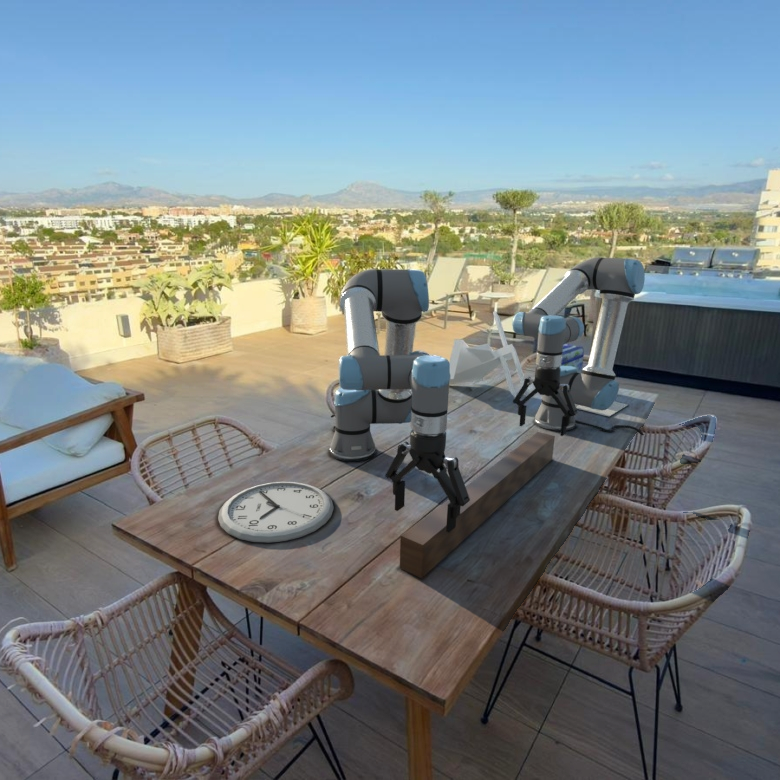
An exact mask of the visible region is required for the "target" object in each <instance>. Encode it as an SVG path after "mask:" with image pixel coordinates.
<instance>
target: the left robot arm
mask: <svg viewBox="0 0 780 780" xmlns="http://www.w3.org/2000/svg"><path fill="white" fill-rule="evenodd" d="M429 294H430V293H429V285H428V281H427V276H426V274H425V272H424V271H423V270H421V269H411V268H407V269H405V268H404V269H398V268H397V269H396V268H395V269H394V268H393V269H389V268H382V269H381V268H379V269H378V268H370V269H364V270H362V271H360V272H358V273H356V274H354V275H353V276H352V277H351V278H349V280H347V282H346V283H345V285H344V286H343V287H342V289H341V291H340V294H339V307H340V310H341V313H342V314H343V315H344V332H345V333H344V334H345V348H346V355H342V356H340V357H339V360H338V376H339V378H338V379H339V380H338V381H339V382H338V383H339V386H340V387H338V389H336V390H335V393H334V402H333V405H334V413H333V414H331V415H330V418H334V426H332V428H331V431H332V432H333V437H332V440H331V443H330V446H329V454H330V456H331V457H332V458H334V459H336V460H338V461H342V462H352V463H353V462H361V461H366V460H369V459H371V458H372V457H374V456H375V455H376V444H375V440H374V438H373V434H372V431H371V425H377V424H379V425H380V424H381V425H382V424H385V425H386V424H391V425H393V424H399V425H400V424H407V423H410V429H411V430H410V431H409V433H410V434H409V435H410V436H409V442H408V441H404V442H402V443H400V444H398V446H397V451H396V455H395V457H394V459H393V460H392V461H391V464H390V466H389V467H388V469H387V470H386V473H385V475H384V477H385V478H386V479H390V480H391V483H392V495H394V511H396V512H398V511H400V510H401V509H403V508H404V507H405V501H406V500H405V499H406V497H405V495H406V480H403V479H404V478H405V477H406V476H408V474H409V473H410V472H412V471H413V470H414V469H415V468H416V469H417V470H418V471H424V472H425V473H427V474H429V475H430V474H432V476H433V478H434V479H436V480H437V482H438V484H439V485H440V488H441V489H442V490H443V492H444V494H445V495H446V498H447V500H448V499H449V501H450V503H449V504H448V510H447V526H446V532H451V531H452V530H453V529H454V528H455V527H456V518H457V517H459V515H460V507H461V506H464V505H465V504H466V503H468V502H469V501H470V498H469V495H468V493H467V490H466V487H465V486H466V484H465V481H464V479H463V476H462V473H461V471H460V467H459V459H458V457H456V456H454V457H452V458H451V457H446V453H445V450H446V447H447V429H448V411H449V410H448V409H449V408H448V406H449V395H450V394H449V393H450V385H449V381H450V363H449V361H450V360H448V359H447V358H445V357H443V356H440V355H436V354H435V355H434V354H430V353H428V352H426V351H423V350H415V351H414V343H415V342H414V341H415V334H416V333H415V332H416V323H418V322H419V321H420V320H421V319H422V315H423V313H426V312H429V309H430V308H429V307H430V295H429ZM374 312H376V313H377V312H379V313H380V312H381V316H382V318H383V319H384V321H386V322H385V341H384V355H383V354H381V353H380V347H379V340H378V332H377V327H376V319H375V313H374ZM408 454H409V455H410V458H411V461H410V462H408V463H407V464H406V466H405V467H403V468H402V469H401V470H400V471H399V469H400V467H401V465H402V464H403V463H404V460H405V458H406V457H407V455H408ZM438 470H439V471H438ZM398 471H399V472H398Z"/></svg>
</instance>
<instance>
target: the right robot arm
mask: <svg viewBox="0 0 780 780" xmlns="http://www.w3.org/2000/svg"><path fill="white" fill-rule="evenodd" d="M645 279H646V277H645V268H644V265H643V263H642V261H641V260H638V259H633V258H627V257H625V258H623V257H622V258H621V257H601V256H596V257H592V258H589V259H586V260H584V261H582V262H580V263H578V264H576V265H574V266H573V267H571V268H570V269H569V270H568V271H567V272H566V273H565V274H564V275H563V279H562V280H561V281H560V282H559V283H558V284H557V285H556V286H555V287H553V289H551V290H550V291H549V292H548V294H546V295H545V296H544V297H543V298H542V299H541V300H540V301H539V302H537V304H535V305H534V306H533V307H532V309H530V310H529V311H528V312H526V311H520V312H517V313H515V315H514V317H513V319H512V324H511V325H512V330H513V332H514V333H515V334H516V335H519V336H520V335H521V336H524V337H530V338H531V337H532V338H536V339H537V350H536V359H535V365H536V366H535V370H534V378H532V377H531V376H527V377H525V380H524V385H523V386H521V387H520V389H519V391H518V392H517V393H516V395H517V396H516V397H514V398H513V400H512V403H513V404H515V405H517V406H518V407H517V416H519V427H523V426H524V425H525V424H526V418H527V417H526V416H527V405H526V403H527V402H528V401H529V400H531V399H532V398H533V397H534V396H536V394H539V395H541V402H540V405H539V407H538V410H537V411H536V413H535V416H534V424H535V425H536V426H537V427H539V428H542V429H544V430H549V431H556V432H560V434H559V435H560V437H564V436H565V435H566V434H567V431H572V430H574V429H575V428H576V424H578V425H582V426H586V427H590V428H594V429H597V430H600V431H602V432H605V433H612V432H614V431H615V429H630V430H634V431H635V432H637V433H638V434H640V436H645V434H644V432H643V431H642V430H640V429H639V428H637V427H635V426H633V425H625V424H619V425H618V424H616V425H612V426H611V429H607V428H604V427H602V426H600V425H596V424H592V423H588V422H584V421H580V420H577V419H576V418H575V417H576V415H577V414H578V409H576V406H578V405H581V406H585V407H589V408H592V409H598V410H606V409H608V408H609V407H610V406H611V405H612V404H613V402H616V401H615V400H616V399H617V396H618V394H619V390H620V383H619V381H618V380H616V376H617V375H616V373H615V371H614V370H613V369H614V365H615V362H616V361H615V360H616V357H617V353H618V352H617V351H618V348H619V343H620V339H621V335H622V331H623V327H624V322H625V318H626V314H627V309H628V306H629V304H630V303H631V302H633V301H634V300H635V295H639V294H641V293H642V291H643V289H644V286H645ZM591 290H594V291H599V293H598V294H599V297H600V298H601V305H600V309H599V313H598V317H597V322H596V326H595V331H594V335H593V340H592V344H591V348H590V353H589V358H588V362H587V365H586V366H584V367H582V372H581V373H577V371H578V370H577V368H576V367H573V366H561V362H562V352H563V345H566V344H569V343H572V342H575V341H577V340H579V339H580V338H581V337H582V336H583V334H584V332H585V324H584V322H583V321H582V320H581V319H580V318H578V317H577V316H567V317H564V316H561V315H559V314H561V312H562V311H563V310H564V309H565V308H566V307H567V306H568V305H569V304H570V303H571V302H572V301H574V299H575V298H576V297H578V295H582V294H584V293H586V291H591ZM532 384H533V387H534V388H533V390H531V392H529V395H527V396H526V395H525V391H526V390H527V388H528V389H529V387H530V386H531V385H532ZM524 395H525V397H523V396H524ZM522 397H523V399H522ZM521 399H522V400H521Z"/></svg>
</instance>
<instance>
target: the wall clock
mask: <svg viewBox="0 0 780 780" xmlns="http://www.w3.org/2000/svg"><path fill="white" fill-rule="evenodd" d="M334 507H335V506H334V503H333V500H332V499H331V497H330V496H329V494H328V493H326V492H325V491H324V490H321V489H320V488H319V487H316V486H313V485H310V484H307V483H301V482H296V481H275V482H268V483H262V484H258V485H255V486H254V485H253V486H252V487H248V488H245V489H243V490H241V491H240V492H238V493H236V494H234V495H232V496H231V497H230V498H228V499H227V500H226V501H225V502H224V503H223V505H222V506H221V507H220V509H219V511H218V517H217V520H218V523H219V525H220V528H221V529H222V530H223V531H225V533H226V534H228V535H230V536H232V537H234V538H237V539H239V540H243V541H248V542H252V543H267V544H268V543H278V542H286V541H291V540H295V539H299V538H302V537H305V536H307V535H309V534H311V533H314V532H316V531H317V530H319V529H321V528H322V527H323V526H325V525H326V524H327V522H328V521H329V520H330V519H331V517H332V515H333V511H334Z"/></svg>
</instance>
